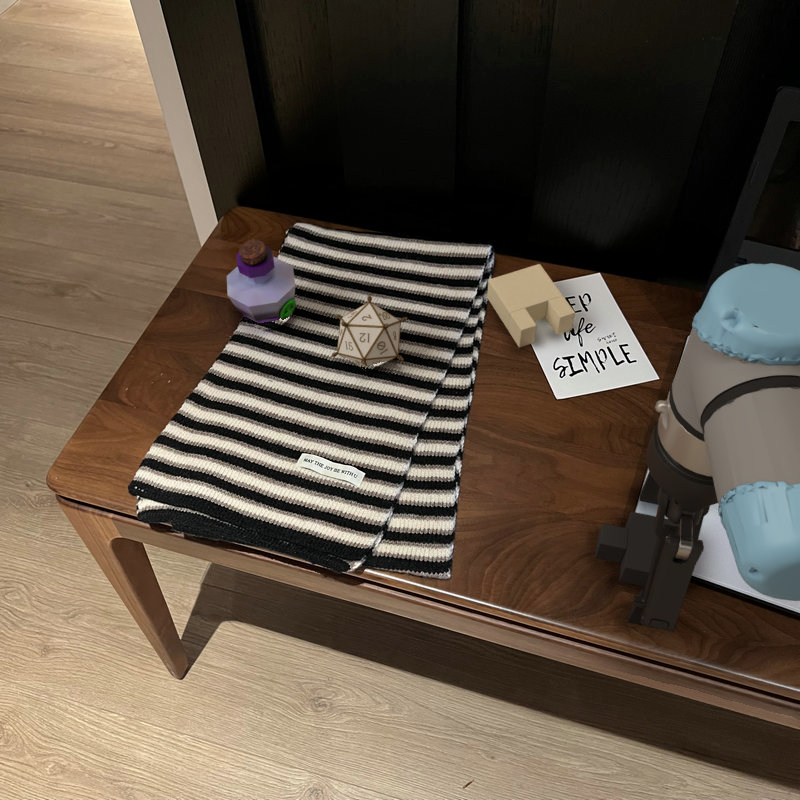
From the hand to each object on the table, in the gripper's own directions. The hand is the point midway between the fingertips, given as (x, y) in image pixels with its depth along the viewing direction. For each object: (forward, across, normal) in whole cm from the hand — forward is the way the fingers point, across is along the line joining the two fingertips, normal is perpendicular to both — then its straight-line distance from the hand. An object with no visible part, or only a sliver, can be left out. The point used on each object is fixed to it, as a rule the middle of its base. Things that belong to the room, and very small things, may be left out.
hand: (646, 561), depth 76 cm
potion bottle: (0, -22, -48) cm, 53 cm away
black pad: (0, 0, -1) cm, 1 cm away
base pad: (0, -29, -16) cm, 34 cm away
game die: (0, -19, -34) cm, 38 cm away
